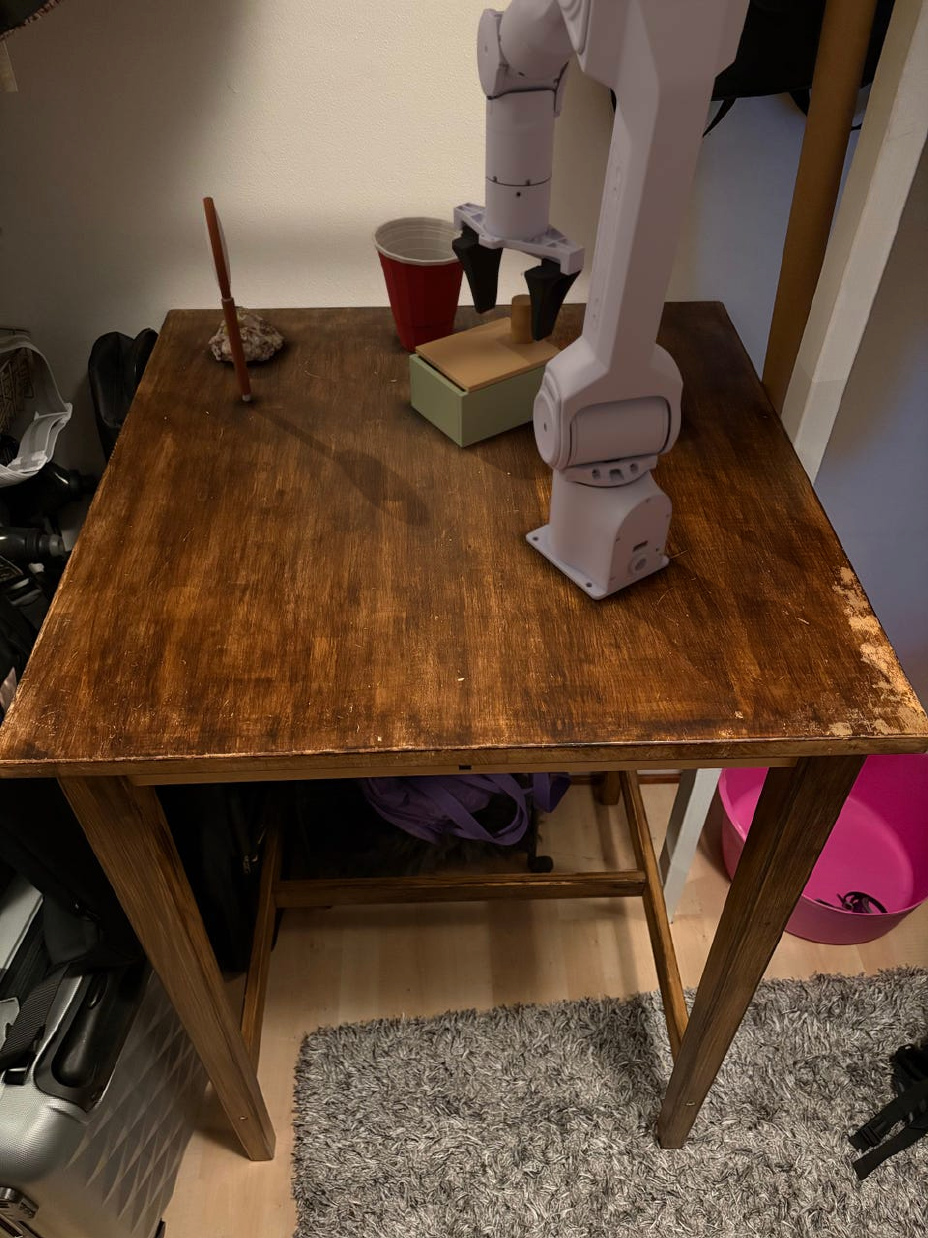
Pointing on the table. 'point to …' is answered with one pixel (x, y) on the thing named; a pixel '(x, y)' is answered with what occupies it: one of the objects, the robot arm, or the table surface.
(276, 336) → the mineral rock
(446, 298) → the plastic cup
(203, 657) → the table surface
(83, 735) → the table surface
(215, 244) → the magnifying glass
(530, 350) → the lid
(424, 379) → the box
